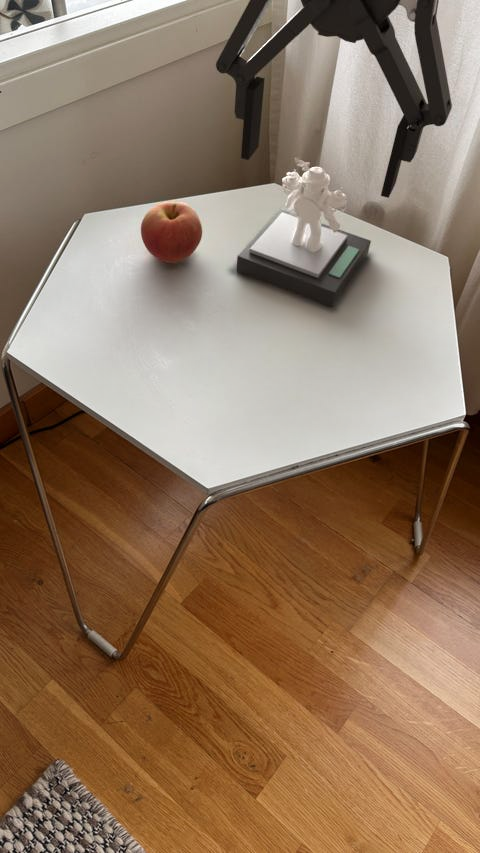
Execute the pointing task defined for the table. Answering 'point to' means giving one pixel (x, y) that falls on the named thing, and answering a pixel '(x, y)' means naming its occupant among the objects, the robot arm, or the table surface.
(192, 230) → the apple
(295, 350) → the table surface
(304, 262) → the scale
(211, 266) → the table surface
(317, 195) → the hat wearing toy figure
